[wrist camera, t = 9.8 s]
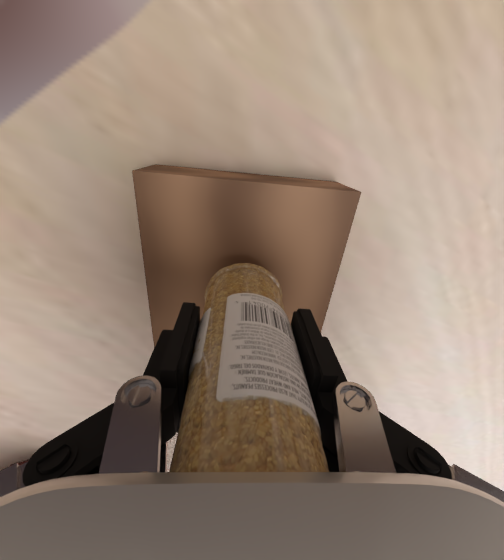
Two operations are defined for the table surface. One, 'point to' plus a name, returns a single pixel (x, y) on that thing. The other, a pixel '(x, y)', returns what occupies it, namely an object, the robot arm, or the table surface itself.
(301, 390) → the sprinkles bottle
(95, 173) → the table surface
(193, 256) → the walnut plinth
